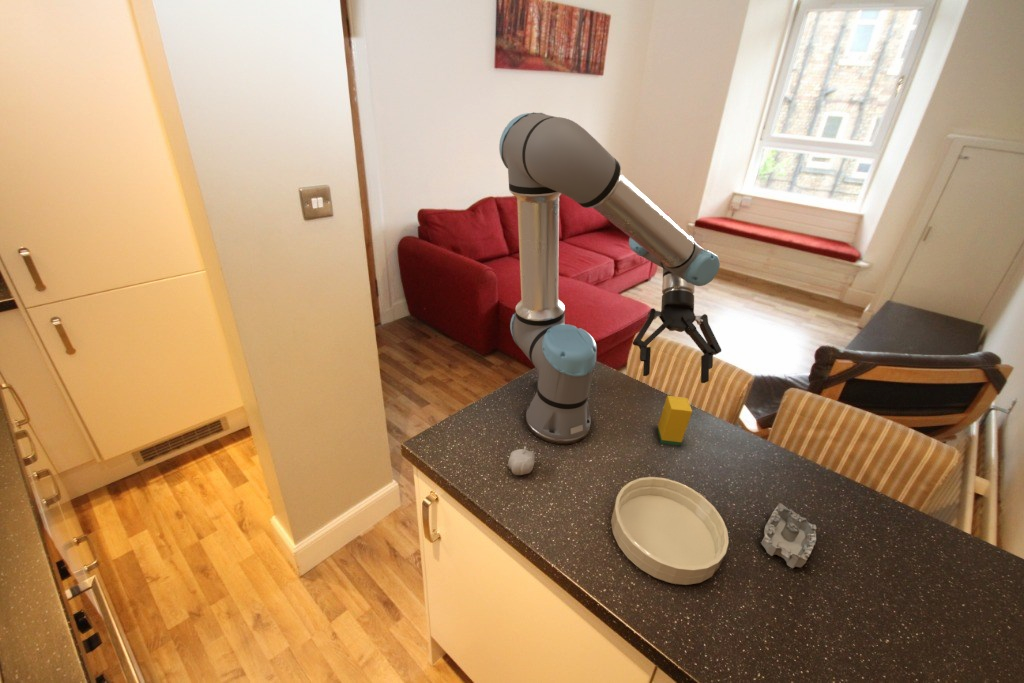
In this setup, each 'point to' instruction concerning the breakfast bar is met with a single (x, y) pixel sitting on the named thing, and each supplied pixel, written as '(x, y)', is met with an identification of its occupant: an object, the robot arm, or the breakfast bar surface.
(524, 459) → the garlic
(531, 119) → the robot arm
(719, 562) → the pan
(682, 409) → the sponge
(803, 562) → the egg carton
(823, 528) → the breakfast bar surface
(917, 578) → the breakfast bar surface
